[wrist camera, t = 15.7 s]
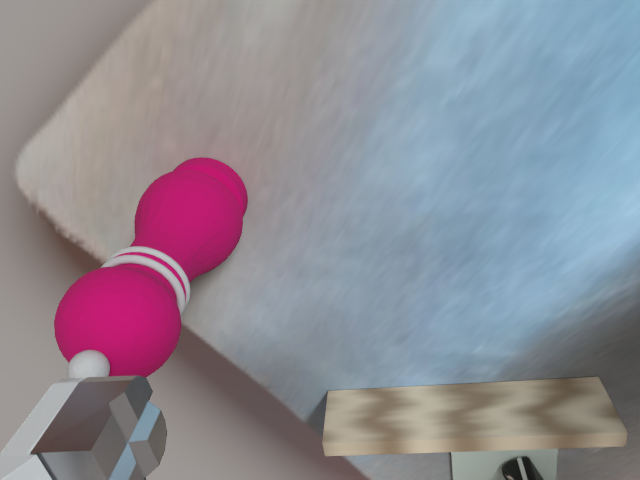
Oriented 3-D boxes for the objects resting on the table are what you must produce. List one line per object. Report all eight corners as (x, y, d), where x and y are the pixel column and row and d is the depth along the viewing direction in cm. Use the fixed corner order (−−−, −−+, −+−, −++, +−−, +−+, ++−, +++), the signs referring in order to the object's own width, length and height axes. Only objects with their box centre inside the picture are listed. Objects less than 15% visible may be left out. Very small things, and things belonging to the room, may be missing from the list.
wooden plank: (598, 376, 45) (627, 432, 40) (596, 389, 46) (625, 446, 40) (328, 390, 49) (322, 443, 44) (330, 402, 49) (325, 456, 44)
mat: (558, 431, 49) (559, 435, 48) (552, 498, 53) (554, 502, 53) (449, 435, 50) (450, 439, 50) (454, 500, 55) (454, 503, 55)
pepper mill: (249, 243, 42) (158, 453, 24) (161, 226, 42) (8, 423, 24) (259, 161, 38) (162, 337, 21) (163, 141, 38) (-15, 302, 21)
